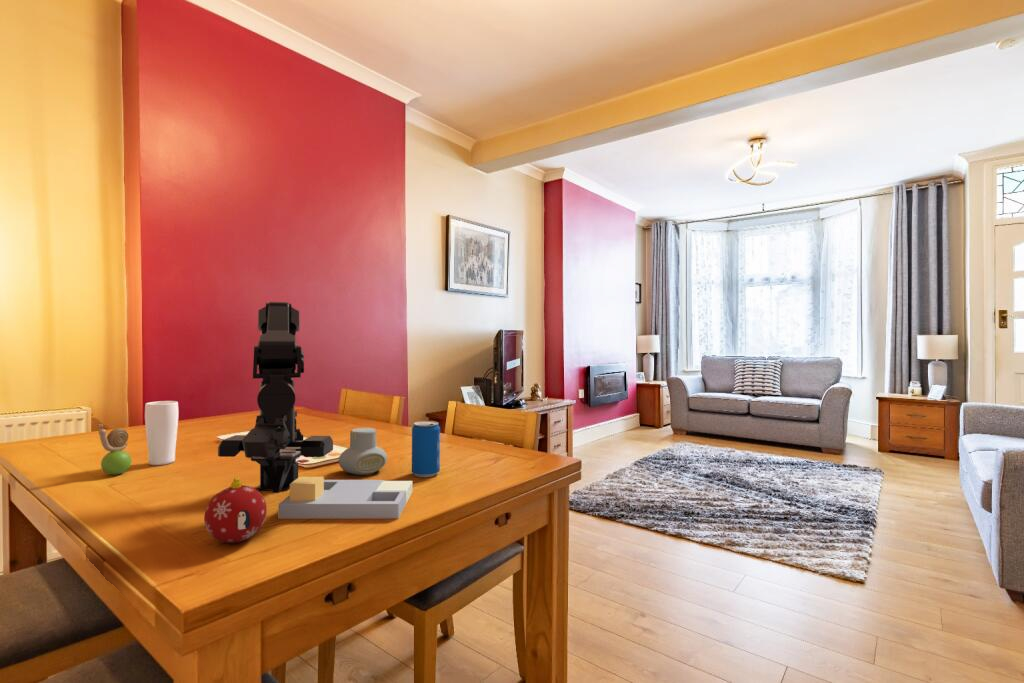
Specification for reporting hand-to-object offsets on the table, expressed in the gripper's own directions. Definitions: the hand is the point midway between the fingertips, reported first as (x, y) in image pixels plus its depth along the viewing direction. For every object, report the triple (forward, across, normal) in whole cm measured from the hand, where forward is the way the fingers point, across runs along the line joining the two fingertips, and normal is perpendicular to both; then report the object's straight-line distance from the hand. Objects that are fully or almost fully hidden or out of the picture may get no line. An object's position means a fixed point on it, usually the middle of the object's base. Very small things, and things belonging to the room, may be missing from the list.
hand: (277, 492), depth 91 cm
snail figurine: (+4, -46, +22) cm, 51 cm away
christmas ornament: (+4, 0, -13) cm, 14 cm away
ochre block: (+1, +5, 0) cm, 5 cm away
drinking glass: (+4, -42, +32) cm, 53 cm away
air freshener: (+4, +9, +26) cm, 27 cm away
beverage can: (+4, +24, +24) cm, 34 cm away
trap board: (+3, +12, +4) cm, 13 cm away
